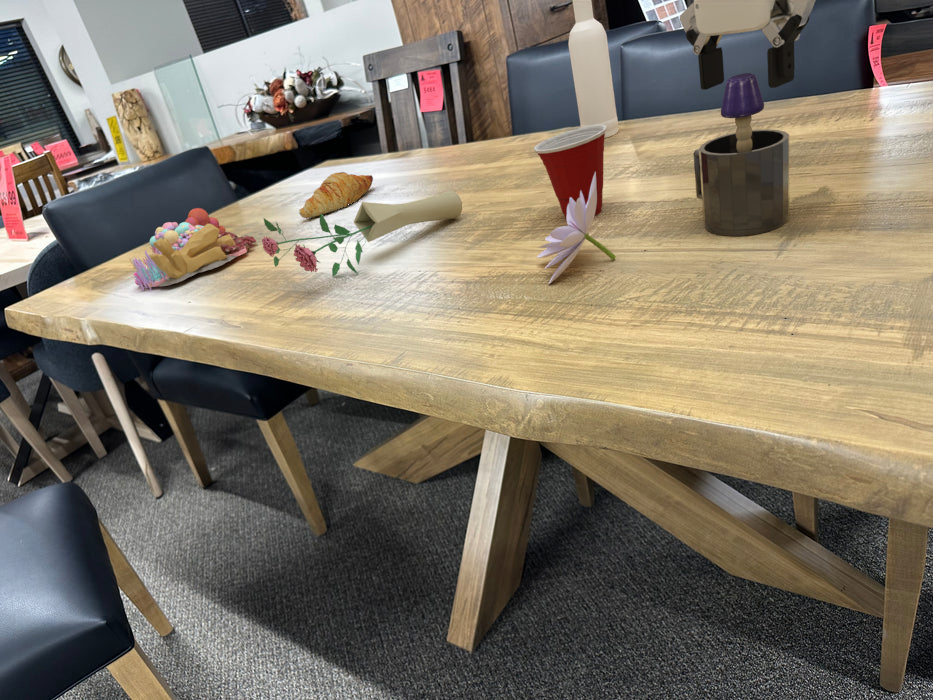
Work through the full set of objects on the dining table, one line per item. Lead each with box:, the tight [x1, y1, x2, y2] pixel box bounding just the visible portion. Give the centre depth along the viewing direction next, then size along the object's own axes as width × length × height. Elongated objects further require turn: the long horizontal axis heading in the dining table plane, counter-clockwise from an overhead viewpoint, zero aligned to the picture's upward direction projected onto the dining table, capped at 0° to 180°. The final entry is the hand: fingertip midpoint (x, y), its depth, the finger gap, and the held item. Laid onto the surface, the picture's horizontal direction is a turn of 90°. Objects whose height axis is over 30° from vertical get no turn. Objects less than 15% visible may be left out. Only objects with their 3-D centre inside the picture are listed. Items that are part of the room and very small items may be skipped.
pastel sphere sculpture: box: [129, 207, 257, 291], centre depth 125 cm, size 25×24×9 cm
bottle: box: [568, 0, 620, 139], centre depth 133 cm, size 8×8×30 cm
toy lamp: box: [720, 72, 765, 153], centre depth 76 cm, size 5×5×17 cm
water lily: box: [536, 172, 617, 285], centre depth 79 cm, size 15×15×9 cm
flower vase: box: [261, 190, 463, 277], centre depth 101 cm, size 12×12×35 cm
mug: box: [692, 128, 790, 237], centre depth 79 cm, size 13×10×10 cm
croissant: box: [298, 171, 374, 219], centre depth 141 cm, size 21×10×8 cm, turn 141°
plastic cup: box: [533, 125, 607, 218], centre depth 95 cm, size 11×11×12 cm
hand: (745, 85), depth 73 cm, fingers open, 9 cm apart
